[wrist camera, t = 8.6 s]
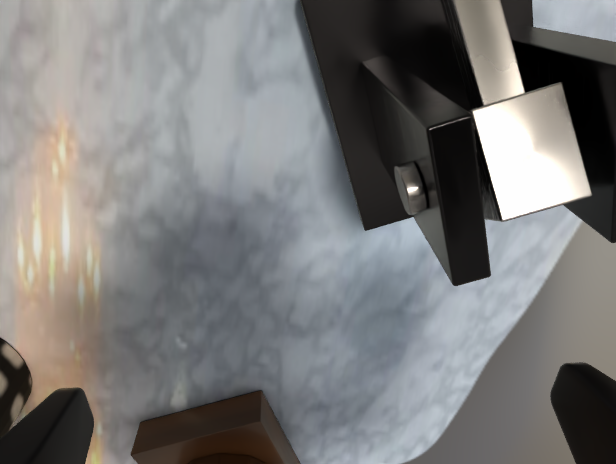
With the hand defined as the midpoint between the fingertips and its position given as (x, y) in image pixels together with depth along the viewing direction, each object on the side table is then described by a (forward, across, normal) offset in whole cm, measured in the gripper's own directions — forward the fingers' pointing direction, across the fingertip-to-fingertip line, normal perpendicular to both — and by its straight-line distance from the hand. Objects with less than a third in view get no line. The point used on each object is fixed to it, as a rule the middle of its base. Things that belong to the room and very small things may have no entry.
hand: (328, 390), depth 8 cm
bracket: (+13, -5, -3) cm, 14 cm away
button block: (+13, +5, +21) cm, 25 cm away
